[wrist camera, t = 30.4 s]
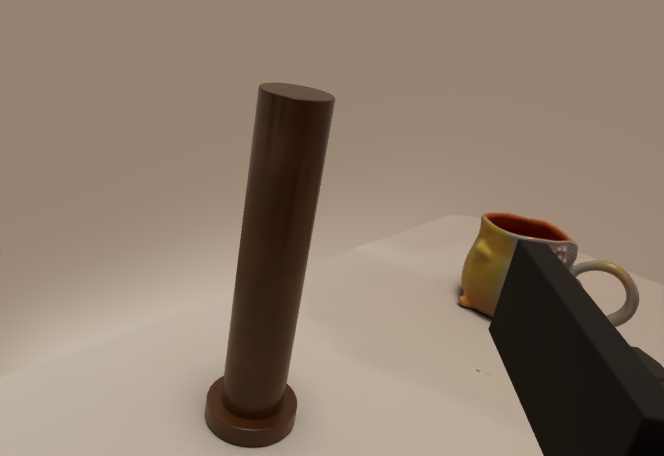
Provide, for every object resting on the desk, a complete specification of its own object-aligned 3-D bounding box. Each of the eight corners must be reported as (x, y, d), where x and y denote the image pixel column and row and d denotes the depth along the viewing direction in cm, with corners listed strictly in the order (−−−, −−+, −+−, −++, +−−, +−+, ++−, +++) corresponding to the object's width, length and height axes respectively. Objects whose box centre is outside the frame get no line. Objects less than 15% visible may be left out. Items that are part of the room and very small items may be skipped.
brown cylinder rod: (212, 452, 26) (254, 98, 20) (199, 389, 30) (231, 73, 24) (305, 441, 28) (370, 110, 22) (281, 382, 31) (331, 85, 25)
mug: (441, 301, 43) (464, 219, 41) (474, 273, 49) (496, 199, 46) (609, 375, 38) (648, 286, 35) (624, 334, 43) (659, 255, 41)
